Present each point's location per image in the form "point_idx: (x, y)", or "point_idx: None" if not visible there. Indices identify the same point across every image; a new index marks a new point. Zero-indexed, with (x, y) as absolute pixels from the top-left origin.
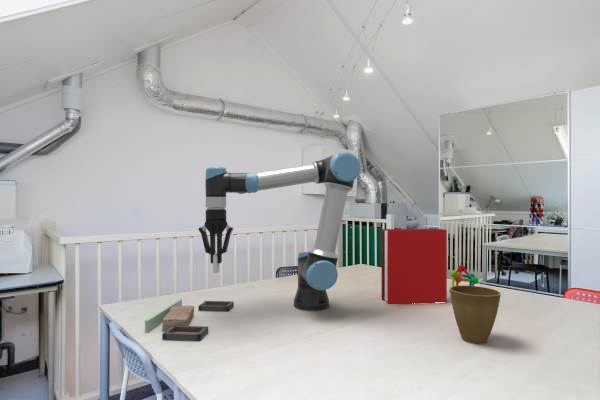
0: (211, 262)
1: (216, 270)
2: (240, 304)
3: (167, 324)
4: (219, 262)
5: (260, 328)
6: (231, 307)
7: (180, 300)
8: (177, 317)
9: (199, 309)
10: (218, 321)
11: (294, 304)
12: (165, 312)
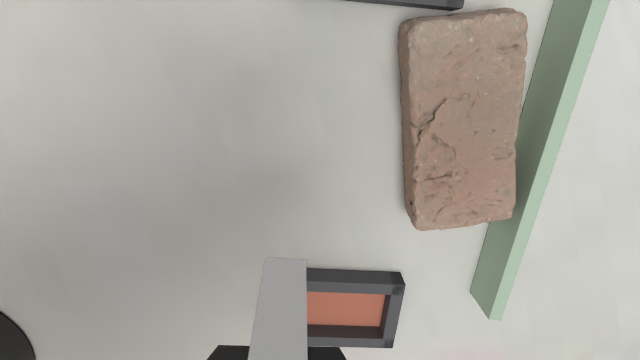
0: (335, 357)
1: (269, 273)
2: None
3: (491, 10)
4: (223, 355)
5: (66, 57)
6: None
7: (492, 306)
8: (460, 50)
9: (397, 275)
10: (284, 148)
11: (14, 339)
12: (530, 164)
